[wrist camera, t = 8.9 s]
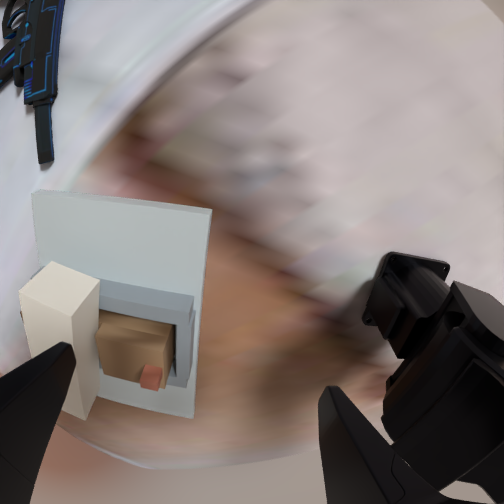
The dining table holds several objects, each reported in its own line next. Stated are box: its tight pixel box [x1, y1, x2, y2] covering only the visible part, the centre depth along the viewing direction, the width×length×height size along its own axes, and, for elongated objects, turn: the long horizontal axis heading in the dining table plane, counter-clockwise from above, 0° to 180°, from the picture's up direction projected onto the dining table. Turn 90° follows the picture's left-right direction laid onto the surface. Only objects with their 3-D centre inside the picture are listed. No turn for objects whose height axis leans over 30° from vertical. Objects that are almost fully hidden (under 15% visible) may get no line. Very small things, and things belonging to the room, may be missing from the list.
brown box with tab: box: [20, 309, 175, 391], centre depth 19 cm, size 12×4×6 cm, turn 81°
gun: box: [0, 0, 65, 164], centre depth 12 cm, size 24×3×15 cm
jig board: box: [31, 189, 212, 419], centre depth 21 cm, size 14×22×3 cm, turn 171°
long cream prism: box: [19, 261, 100, 421], centre depth 17 cm, size 4×12×4 cm, turn 161°
